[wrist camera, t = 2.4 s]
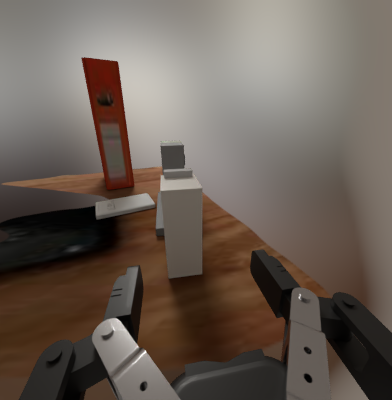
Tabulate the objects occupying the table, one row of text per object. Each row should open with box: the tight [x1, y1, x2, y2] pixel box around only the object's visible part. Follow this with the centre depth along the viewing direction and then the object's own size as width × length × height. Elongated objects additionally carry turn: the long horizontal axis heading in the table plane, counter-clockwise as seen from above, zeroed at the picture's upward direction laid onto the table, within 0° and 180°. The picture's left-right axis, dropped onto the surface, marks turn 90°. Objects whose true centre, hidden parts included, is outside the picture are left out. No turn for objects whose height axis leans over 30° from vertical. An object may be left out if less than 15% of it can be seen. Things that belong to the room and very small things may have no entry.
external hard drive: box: [95, 193, 155, 219], centre depth 45 cm, size 2×8×12 cm
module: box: [160, 168, 202, 278], centre depth 25 cm, size 5×6×13 cm
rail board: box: [156, 141, 185, 236], centre depth 39 cm, size 8×18×14 cm, turn 9°
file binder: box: [82, 57, 134, 190], centre depth 57 cm, size 8×17×32 cm, turn 26°
